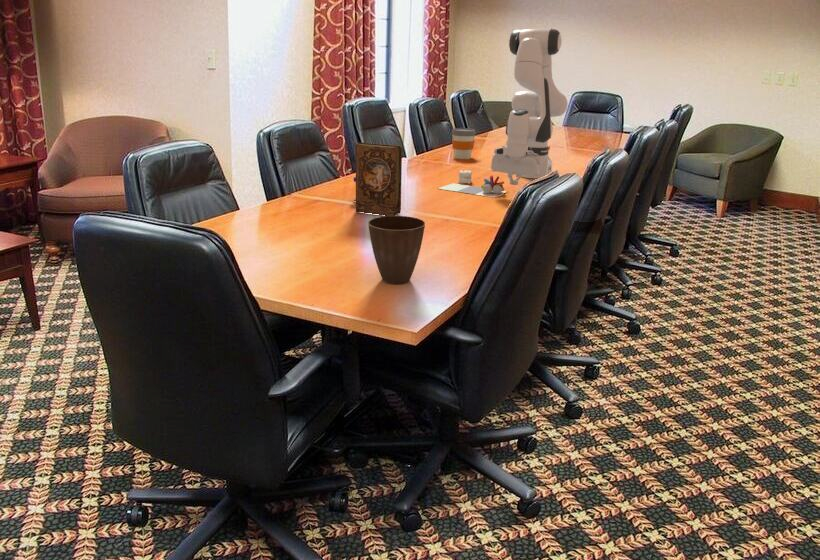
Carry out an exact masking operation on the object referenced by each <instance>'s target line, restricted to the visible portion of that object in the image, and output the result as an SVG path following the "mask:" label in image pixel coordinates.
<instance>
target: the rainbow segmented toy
mask: <svg viewBox="0 0 820 560" xmlns="http://www.w3.org/2000/svg"><path fill="white" fill-rule="evenodd" d="M499 180H500V176H499V175H497V176H496V178H495V180H494V176H493V175H489V179H487V178H484V179H483V182H484V184H482V185H481V186H480V187H481V188H482V189H483V192H484V193H486V194H489V193H491V192H492V191H493V193H494V194H500V193H501V192H502V191H505V187H504V184H505V181H504V180H501V181H499Z"/></svg>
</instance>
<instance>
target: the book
mask: <svg viewBox="0 0 820 560" xmlns="http://www.w3.org/2000/svg"><path fill="white" fill-rule="evenodd" d="M402 159H403V147H402V146H401V145H395V144H384V143H383V144H382V143H372V142H371V143H370V142H357V143H355V177H356V182H355V199H356V203H355V213H356V212H364V213H372V214H379V215H385V216H397V215H399V214H400V213H401V209H402V177H403V176H402V171H403V170H402V169H403V168H402V165H403V160H402Z"/></svg>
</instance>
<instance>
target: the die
mask: <svg viewBox="0 0 820 560" xmlns="http://www.w3.org/2000/svg"><path fill="white" fill-rule="evenodd" d="M472 172H473V171H472V170H459V173H458V184H463V183H468V184H467V185H470V184H471V183H472V174H473V173H472Z"/></svg>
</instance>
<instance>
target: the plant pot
mask: <svg viewBox="0 0 820 560" xmlns="http://www.w3.org/2000/svg"><path fill="white" fill-rule="evenodd" d="M367 225H368V231H369V239H370V243H371V248H372V252H373V256H374V259H375V263H376V266H377V268H378V272H379V275H380V277H381V279H382V281H383V282H384V281H385V282H384V283H386V282H387V283H386V284H389V283H391V284H392V285H403V284H407V283H408V282H410V280H411V278H412V276H413V274H414V273H413V272H414V270H415V267H416V264H417V262H418V259H419V255H420V251H421V247H422V244H423V237H424V233H425V228H426V227H425V226H426V222H425V221H424V220H423V219H420V218H418V217H413V216H408V215H407V216H406V215H395V216H377V217H374V218H371V219H370V220H368V223H367ZM391 284H390V285H391Z"/></svg>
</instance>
